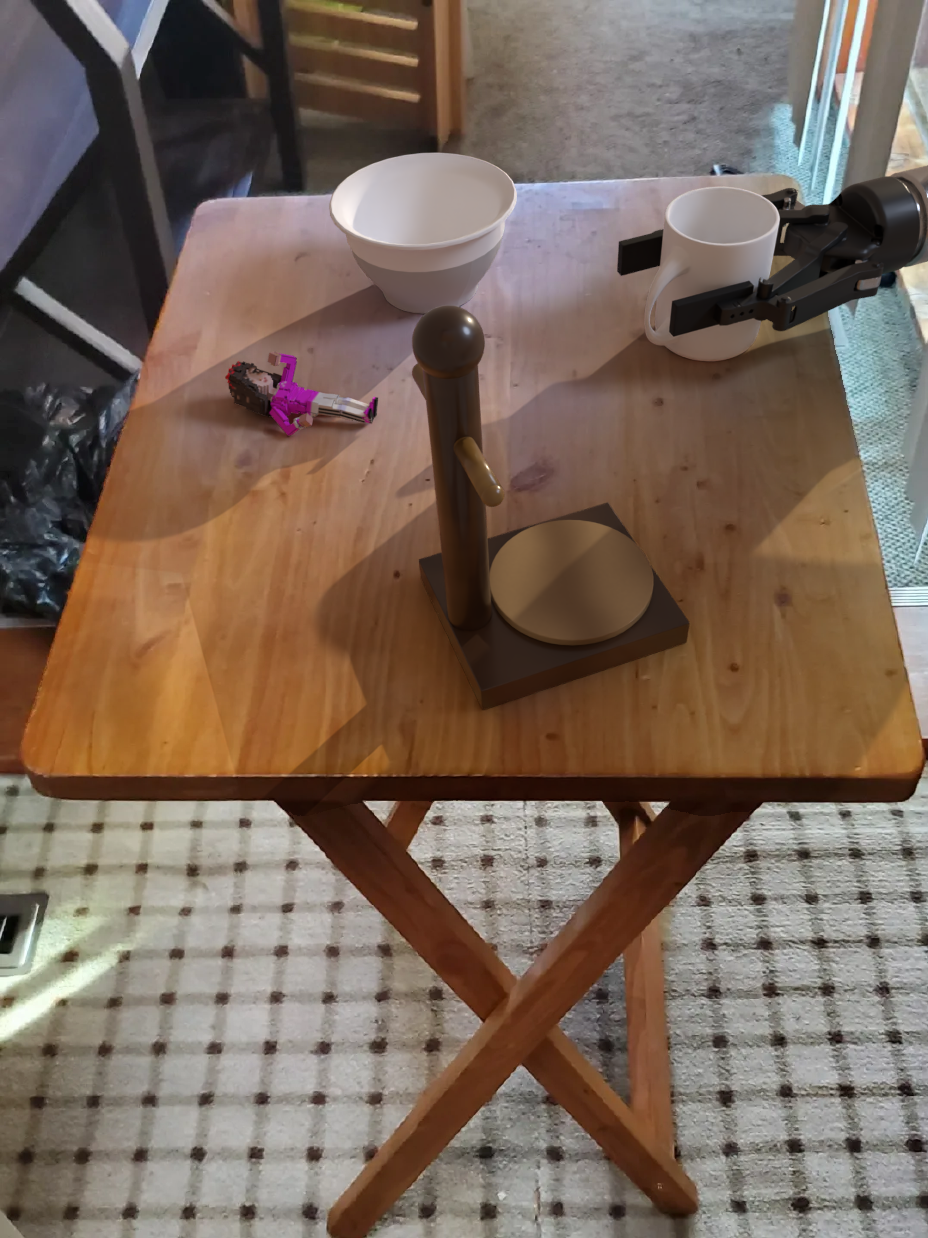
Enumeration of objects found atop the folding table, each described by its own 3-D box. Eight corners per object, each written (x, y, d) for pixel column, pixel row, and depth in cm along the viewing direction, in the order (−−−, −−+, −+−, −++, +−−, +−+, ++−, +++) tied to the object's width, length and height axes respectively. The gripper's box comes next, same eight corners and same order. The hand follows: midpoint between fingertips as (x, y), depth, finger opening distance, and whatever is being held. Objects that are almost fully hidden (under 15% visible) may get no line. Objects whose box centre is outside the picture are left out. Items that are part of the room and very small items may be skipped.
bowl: (384, 229, 104) (374, 142, 98) (541, 252, 100) (541, 163, 94) (313, 321, 95) (296, 231, 88) (483, 351, 90) (479, 259, 84)
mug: (602, 348, 90) (609, 230, 82) (703, 292, 94) (718, 174, 86) (678, 397, 85) (692, 277, 77) (779, 335, 90) (803, 215, 81)
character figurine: (382, 409, 88) (241, 382, 89) (382, 359, 84) (234, 331, 85) (364, 456, 84) (217, 428, 85) (363, 406, 80) (209, 377, 81)
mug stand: (606, 521, 76) (626, 196, 58) (687, 644, 69) (740, 314, 50) (415, 579, 74) (373, 258, 55) (478, 713, 66) (453, 392, 48)
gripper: (963, 330, 85) (705, 404, 81) (815, 206, 98) (587, 263, 94) (993, 243, 79) (717, 318, 75) (832, 124, 93) (590, 181, 88)
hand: (645, 288), depth 85 cm, fingers closed on mug, 9 cm apart
